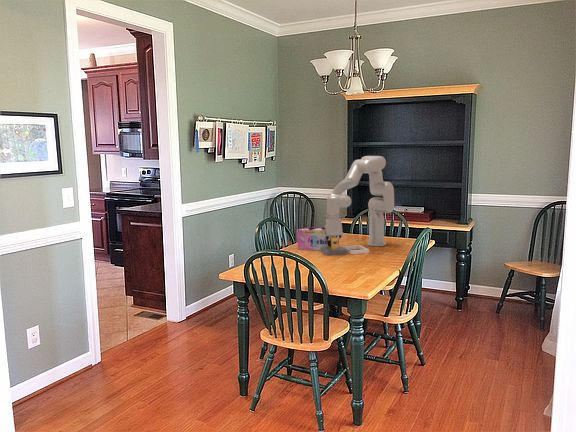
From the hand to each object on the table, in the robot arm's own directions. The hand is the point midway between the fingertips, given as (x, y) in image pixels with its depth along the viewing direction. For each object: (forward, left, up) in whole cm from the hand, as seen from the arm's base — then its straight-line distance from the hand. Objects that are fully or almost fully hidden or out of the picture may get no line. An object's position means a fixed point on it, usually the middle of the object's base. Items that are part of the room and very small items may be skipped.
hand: (333, 246), depth 307 cm
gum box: (-15, -6, -5) cm, 16 cm away
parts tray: (-1, +15, -5) cm, 16 cm away
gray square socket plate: (0, 0, -5) cm, 5 cm away
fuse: (0, 0, -4) cm, 4 cm away
